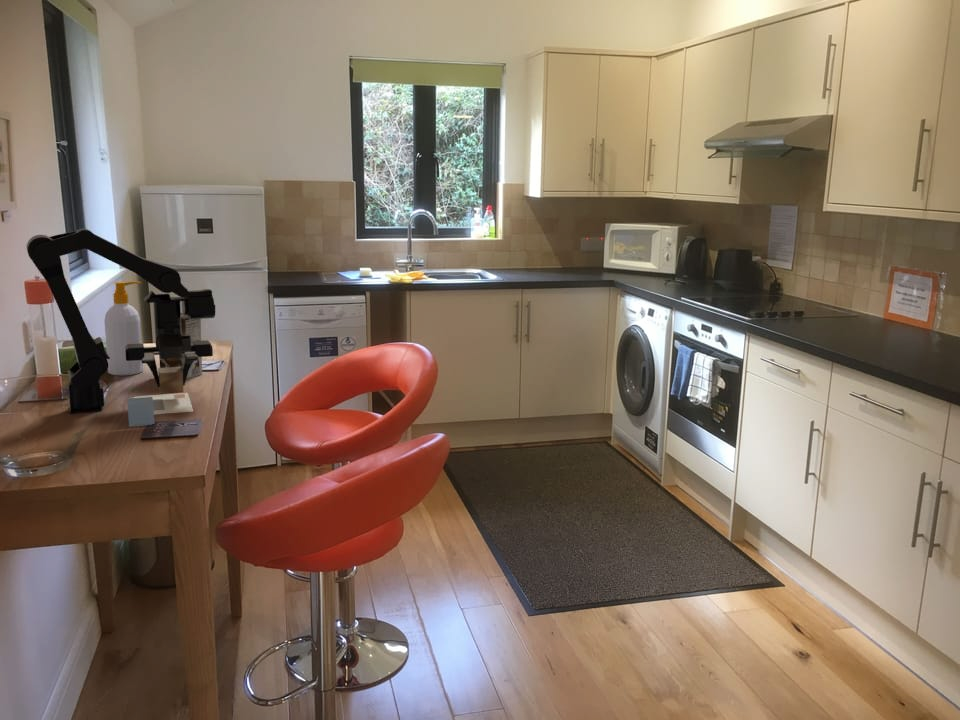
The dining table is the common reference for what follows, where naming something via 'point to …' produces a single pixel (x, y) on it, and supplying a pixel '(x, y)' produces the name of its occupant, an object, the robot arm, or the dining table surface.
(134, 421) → the blue cube
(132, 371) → the soap bottle
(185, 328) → the coffee box
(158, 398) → the letter
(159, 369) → the walnut block
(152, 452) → the dining table surface
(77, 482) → the dining table surface
